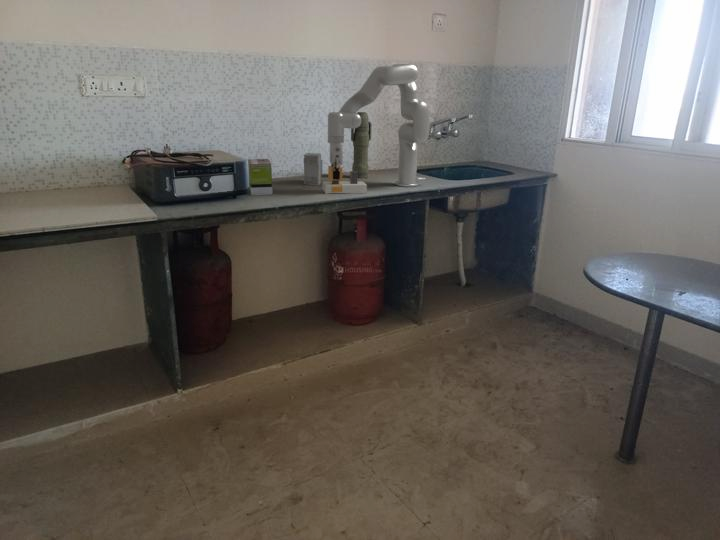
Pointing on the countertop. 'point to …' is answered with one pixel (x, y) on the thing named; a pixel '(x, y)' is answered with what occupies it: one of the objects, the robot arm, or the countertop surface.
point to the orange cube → (330, 173)
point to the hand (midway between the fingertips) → (335, 177)
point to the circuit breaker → (312, 168)
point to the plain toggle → (353, 177)
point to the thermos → (361, 145)
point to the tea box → (260, 176)
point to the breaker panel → (344, 187)
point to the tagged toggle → (335, 181)
